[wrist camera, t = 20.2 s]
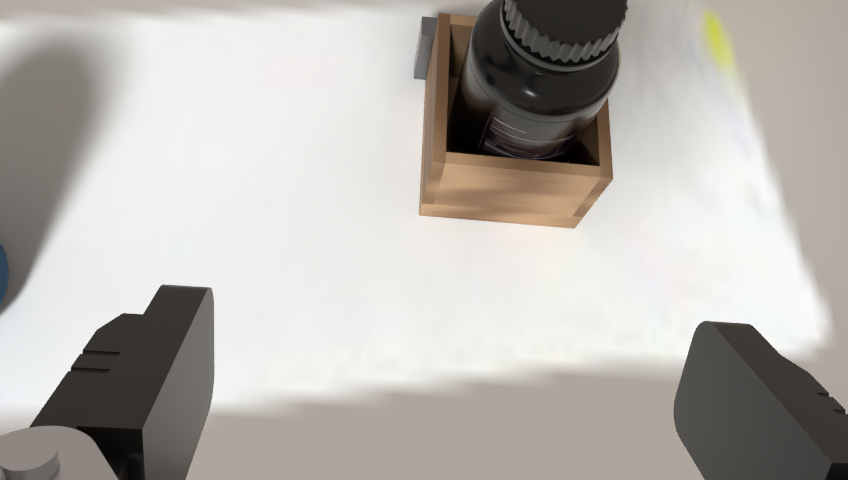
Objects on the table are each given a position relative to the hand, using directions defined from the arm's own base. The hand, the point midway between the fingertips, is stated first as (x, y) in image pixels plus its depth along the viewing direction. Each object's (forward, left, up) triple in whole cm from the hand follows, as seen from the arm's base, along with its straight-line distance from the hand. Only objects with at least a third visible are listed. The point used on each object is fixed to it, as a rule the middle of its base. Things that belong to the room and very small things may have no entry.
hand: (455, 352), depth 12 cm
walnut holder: (+6, +18, -24) cm, 30 cm away
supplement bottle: (+6, +17, -22) cm, 29 cm away
